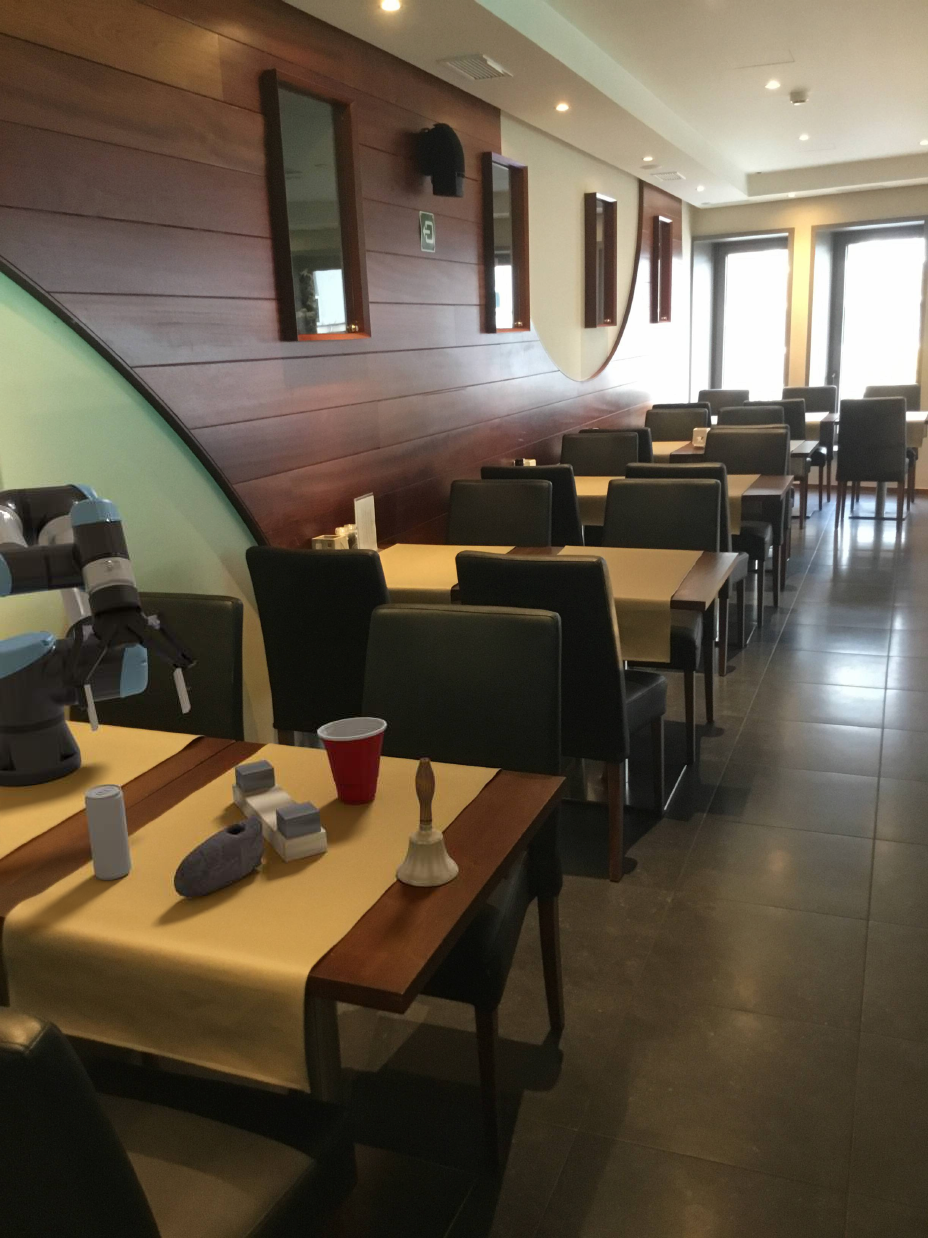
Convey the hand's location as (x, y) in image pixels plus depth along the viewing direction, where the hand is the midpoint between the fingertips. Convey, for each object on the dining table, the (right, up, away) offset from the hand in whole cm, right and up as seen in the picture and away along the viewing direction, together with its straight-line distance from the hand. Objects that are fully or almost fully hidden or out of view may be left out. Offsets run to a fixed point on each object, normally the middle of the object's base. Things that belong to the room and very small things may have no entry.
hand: (142, 719), depth 152 cm
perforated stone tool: (+17, -20, -20) cm, 33 cm away
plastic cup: (+32, -13, +6) cm, 35 cm away
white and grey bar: (+21, -15, -3) cm, 26 cm away
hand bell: (+44, -19, -19) cm, 51 cm away
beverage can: (+1, -19, -16) cm, 25 cm away
